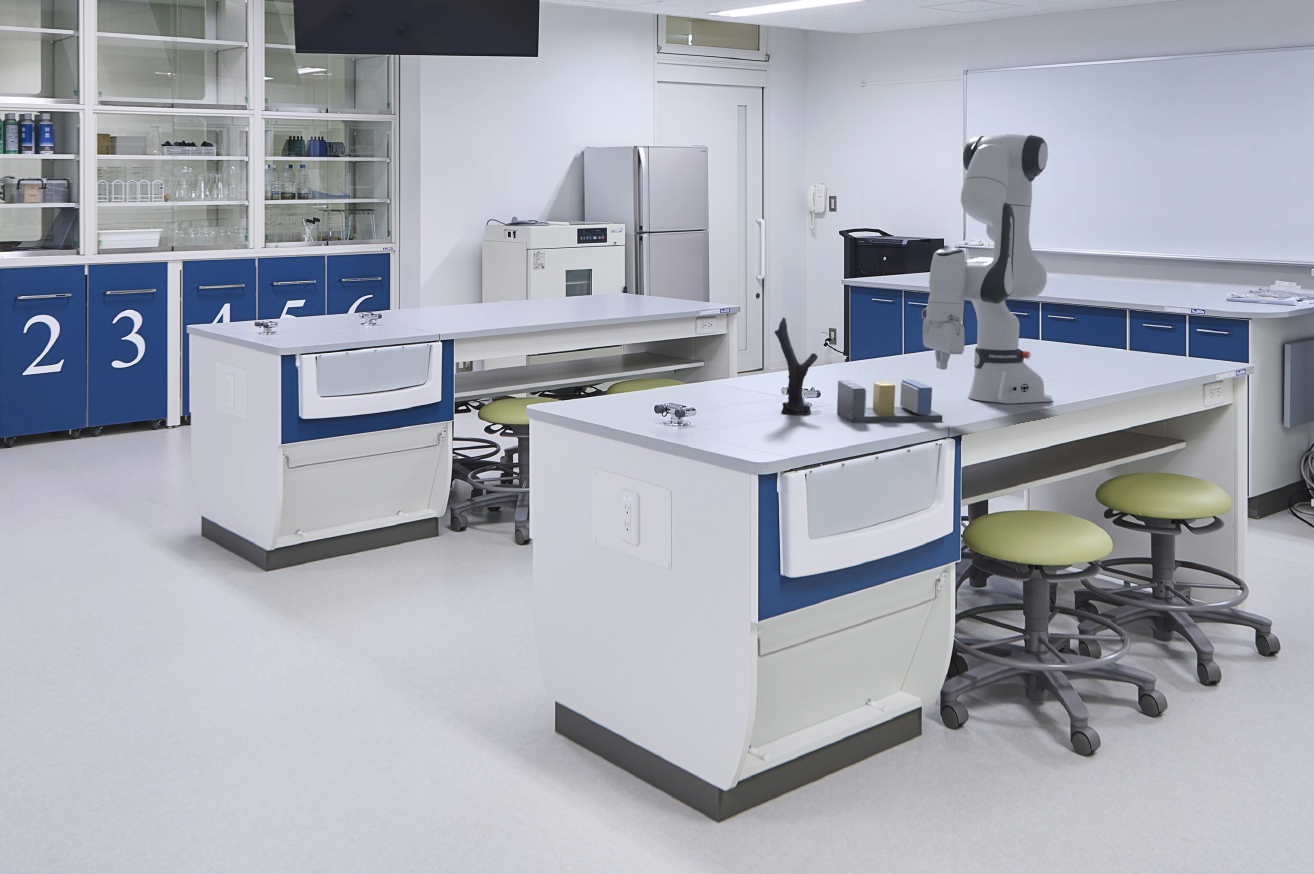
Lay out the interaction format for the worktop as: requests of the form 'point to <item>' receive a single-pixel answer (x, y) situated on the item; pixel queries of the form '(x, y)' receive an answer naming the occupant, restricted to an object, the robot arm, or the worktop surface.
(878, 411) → the brass block
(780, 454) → the worktop surface
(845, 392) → the base
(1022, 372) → the robot arm
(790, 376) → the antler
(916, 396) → the sliding jaw
